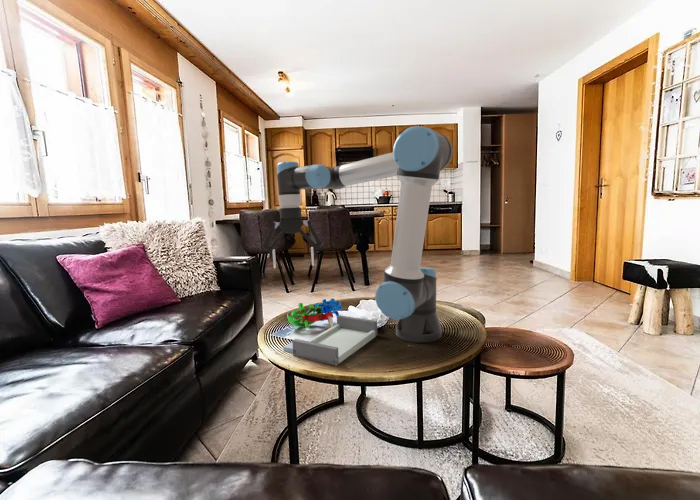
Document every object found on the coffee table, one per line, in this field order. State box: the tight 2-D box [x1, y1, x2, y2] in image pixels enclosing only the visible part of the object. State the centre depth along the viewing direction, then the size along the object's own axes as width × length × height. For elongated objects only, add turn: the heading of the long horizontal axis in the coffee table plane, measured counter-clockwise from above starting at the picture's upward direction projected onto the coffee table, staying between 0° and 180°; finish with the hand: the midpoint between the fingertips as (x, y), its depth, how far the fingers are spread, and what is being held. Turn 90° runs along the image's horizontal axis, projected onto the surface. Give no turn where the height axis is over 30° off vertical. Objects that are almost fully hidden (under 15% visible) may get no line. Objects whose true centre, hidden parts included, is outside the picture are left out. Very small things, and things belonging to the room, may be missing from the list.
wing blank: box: [282, 338, 306, 354], centre depth 112 cm, size 7×4×2 cm, turn 150°
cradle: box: [291, 314, 378, 367], centre depth 114 cm, size 15×26×5 cm, turn 150°
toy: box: [286, 298, 343, 329], centre depth 128 cm, size 20×10×11 cm
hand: (294, 266), depth 129 cm, fingers open, 13 cm apart
